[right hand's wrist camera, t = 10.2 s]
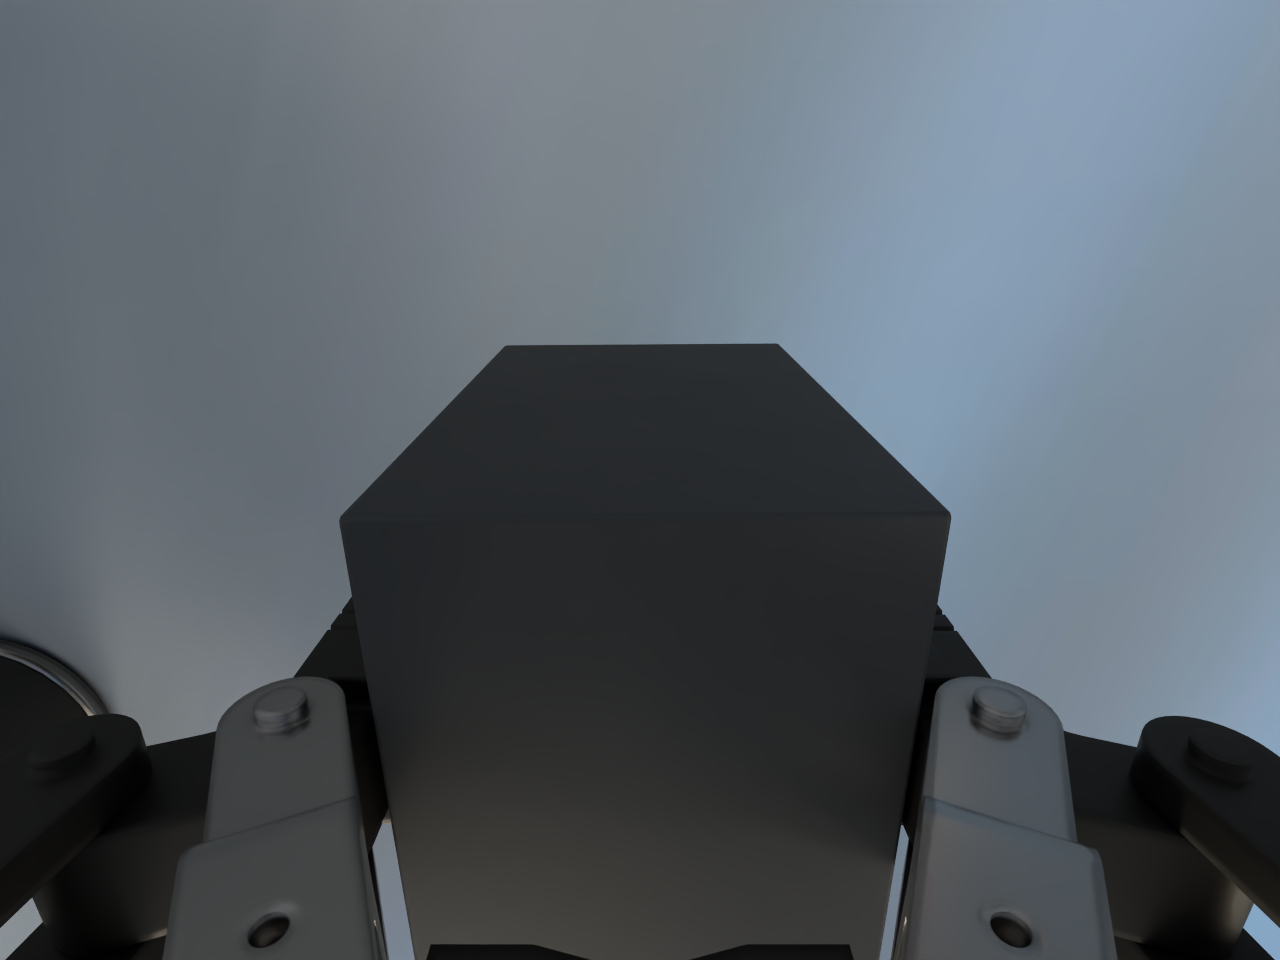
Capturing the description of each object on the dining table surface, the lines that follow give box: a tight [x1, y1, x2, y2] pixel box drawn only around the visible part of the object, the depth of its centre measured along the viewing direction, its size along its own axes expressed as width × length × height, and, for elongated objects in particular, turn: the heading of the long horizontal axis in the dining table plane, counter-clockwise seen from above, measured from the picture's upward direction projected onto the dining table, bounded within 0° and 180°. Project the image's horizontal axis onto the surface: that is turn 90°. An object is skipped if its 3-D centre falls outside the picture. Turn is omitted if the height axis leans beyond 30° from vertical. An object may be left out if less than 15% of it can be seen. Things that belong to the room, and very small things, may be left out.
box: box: [339, 344, 951, 960], centre depth 15 cm, size 22×6×9 cm, turn 0°
